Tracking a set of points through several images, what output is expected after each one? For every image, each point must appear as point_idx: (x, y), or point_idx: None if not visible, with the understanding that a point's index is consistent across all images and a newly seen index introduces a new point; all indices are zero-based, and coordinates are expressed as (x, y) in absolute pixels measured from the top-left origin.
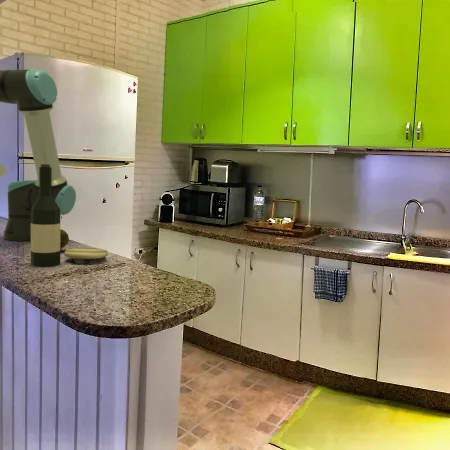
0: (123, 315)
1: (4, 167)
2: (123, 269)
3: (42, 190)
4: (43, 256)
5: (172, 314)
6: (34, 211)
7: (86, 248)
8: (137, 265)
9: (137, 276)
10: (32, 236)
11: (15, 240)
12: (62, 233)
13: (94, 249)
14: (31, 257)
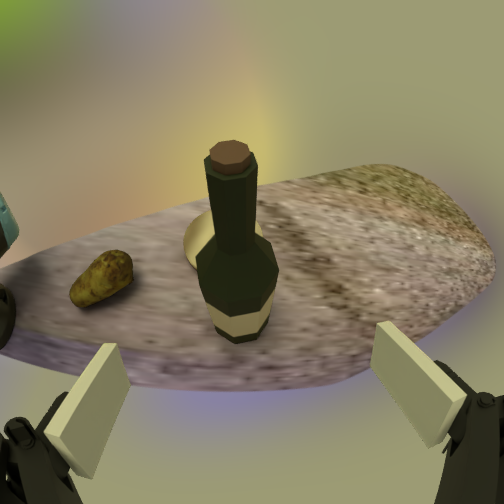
0: (478, 250)
1: (401, 334)
2: (306, 210)
3: (250, 237)
4: (268, 316)
5: (469, 218)
6: (264, 294)
7: (191, 235)
8: (280, 190)
9: (350, 205)
10: (248, 324)
11: (8, 338)
12: (124, 258)
13: (206, 224)
14: (239, 339)
